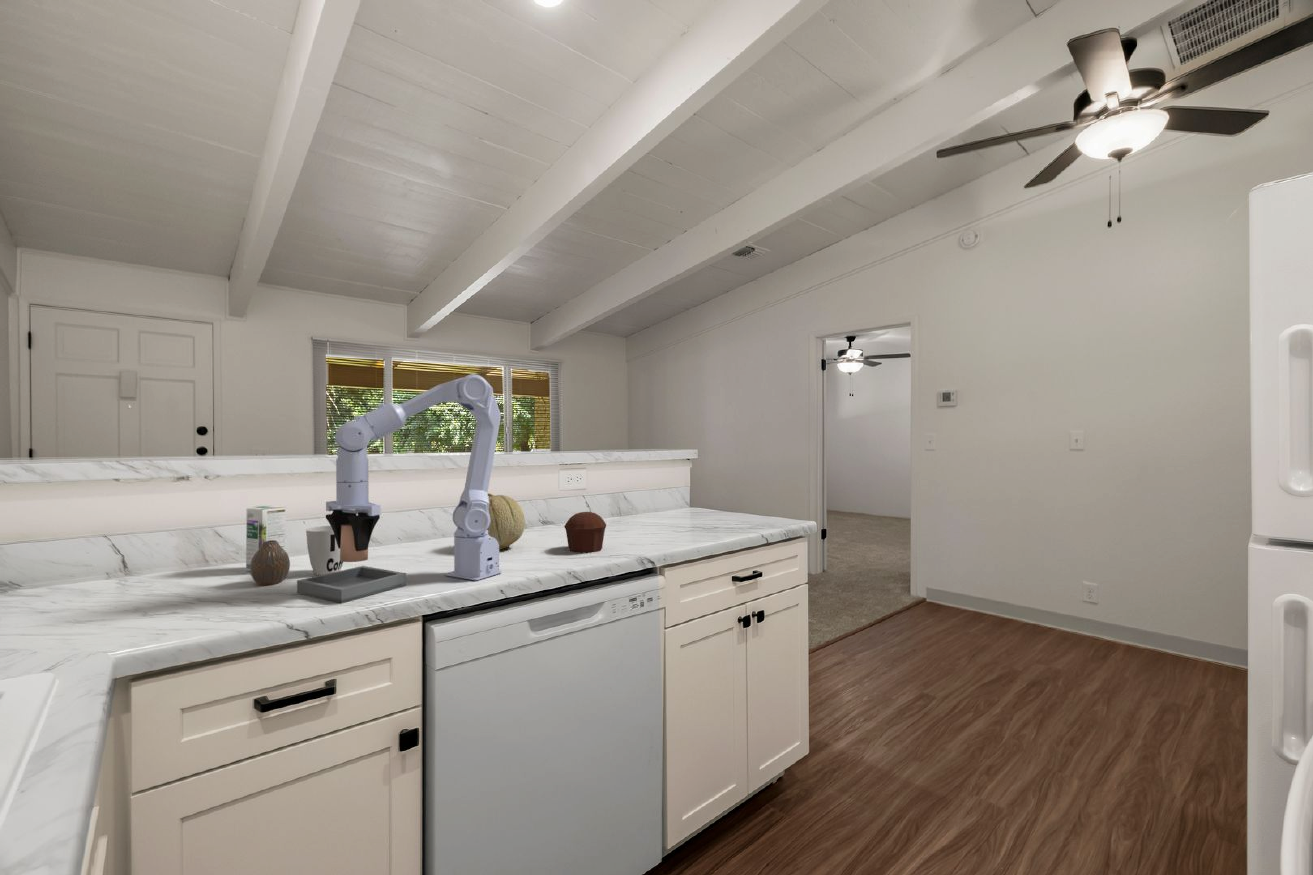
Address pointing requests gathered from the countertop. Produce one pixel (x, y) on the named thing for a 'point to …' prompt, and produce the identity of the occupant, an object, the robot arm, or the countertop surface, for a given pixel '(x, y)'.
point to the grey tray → (351, 584)
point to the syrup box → (264, 528)
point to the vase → (270, 564)
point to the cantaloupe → (505, 520)
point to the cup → (323, 550)
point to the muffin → (585, 532)
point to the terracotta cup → (350, 546)
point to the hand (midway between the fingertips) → (352, 548)
